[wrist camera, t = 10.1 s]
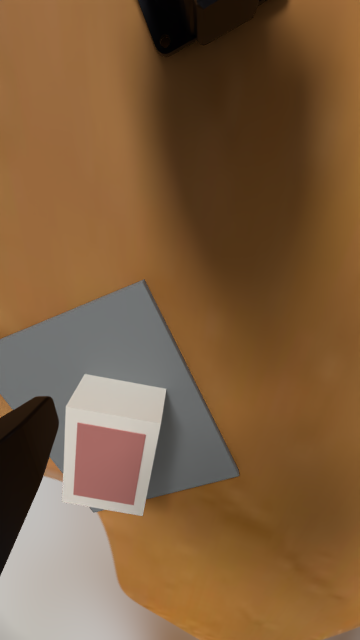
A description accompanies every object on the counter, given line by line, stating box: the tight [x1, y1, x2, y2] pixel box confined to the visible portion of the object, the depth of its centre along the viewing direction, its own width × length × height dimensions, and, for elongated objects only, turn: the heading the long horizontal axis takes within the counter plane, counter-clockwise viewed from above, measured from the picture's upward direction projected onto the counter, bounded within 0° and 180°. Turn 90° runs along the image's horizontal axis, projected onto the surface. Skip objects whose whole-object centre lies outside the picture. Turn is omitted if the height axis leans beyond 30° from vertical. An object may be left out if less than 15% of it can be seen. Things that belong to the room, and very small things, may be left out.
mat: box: [0, 280, 239, 512], centre depth 25 cm, size 18×14×1 cm
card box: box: [62, 374, 166, 516], centre depth 24 cm, size 6×9×4 cm, turn 170°
